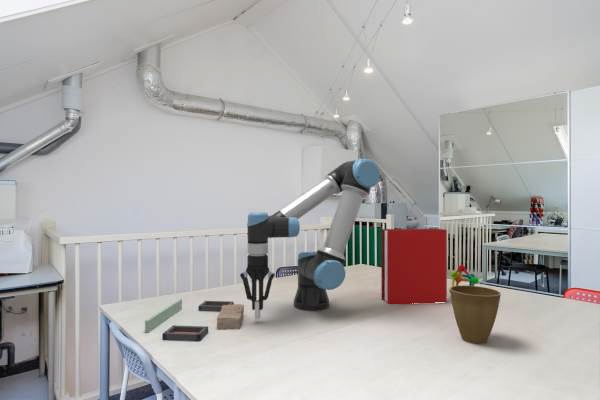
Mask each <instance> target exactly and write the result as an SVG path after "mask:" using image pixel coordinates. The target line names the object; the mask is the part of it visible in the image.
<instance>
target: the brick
mask: <svg viewBox="0 0 600 400" xmlns="http://www.w3.org/2000/svg"><path fill="white" fill-rule="evenodd" d="M244 309H245V305H244V304H240V303H234V305H223V306H222V309H221V311H219V312H218V315H217V317H216V328H217V330H239V329H240V328H241V326H242V321H243V317H244V312H245V311H244Z"/></svg>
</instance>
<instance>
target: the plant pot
mask: <svg viewBox="0 0 600 400" xmlns="http://www.w3.org/2000/svg"><path fill="white" fill-rule="evenodd" d="M449 288H450V287H449ZM449 293H450V299H451V305H452V306H451V307H452V310H453V315H454V319H455V321H456V322H455V323H456V325H457V329H458V332H459V334H460V336H461V339H462V340H463V341H465V342H468V343H471V344H479V343H480V344H485V343H487V342H488V340H489V338H490V335H491V333H492V330H493V328H494V325H495V321H496V318H497V315H498V310H499V307H500V301H501V296H502V295H501V292H500V291H499V290H496V289H493V288H490V287H484V286H477V285H474V286H469V285H458V286H456V285H454V286H453V287H452V286H451V288H450V292H449Z"/></svg>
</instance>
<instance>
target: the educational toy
mask: <svg viewBox="0 0 600 400" xmlns="http://www.w3.org/2000/svg"><path fill="white" fill-rule="evenodd" d="M463 272H464V273H465V274H464V273H463ZM462 273H463V274H462ZM450 276H451V277H452V279H451V287H453V286H459V284H460V283H462V282H469V284H468V286H475V285H476V284H478V283H479V278H478V277H476V275H475V274H473V273H469V272H468V271H467V269H466V267H465V265H463V264H460V265H458V267H457V270H452V271H451V272H450ZM451 287H449V289H448V291H449V293H450V288H451Z"/></svg>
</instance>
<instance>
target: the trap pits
mask: <svg viewBox="0 0 600 400" xmlns="http://www.w3.org/2000/svg"><path fill="white" fill-rule="evenodd" d="M234 304H235V303H234V301H230V300H229V301H228V300H226V301H225V300H222V301H221V300H204V301H203V302H202V303H200V304H199V305H198V306H197V307H198V311H199V312H220V311H221V309H222V306H223V305H234ZM198 311H197V312H198ZM207 334H209V326H202V325H201V326H200V325H197V326H196V325H171V326H170V327H169V328H168V329H166V330H165V331H164V332H162V334H161V335H162V338H161V339H162V340H163V341H181V342H182V341H183V342H184V341H185V342H186V341H187V342H188V341H189V342H201V341H202V339H203V338H204V337H206V335H207Z"/></svg>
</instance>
